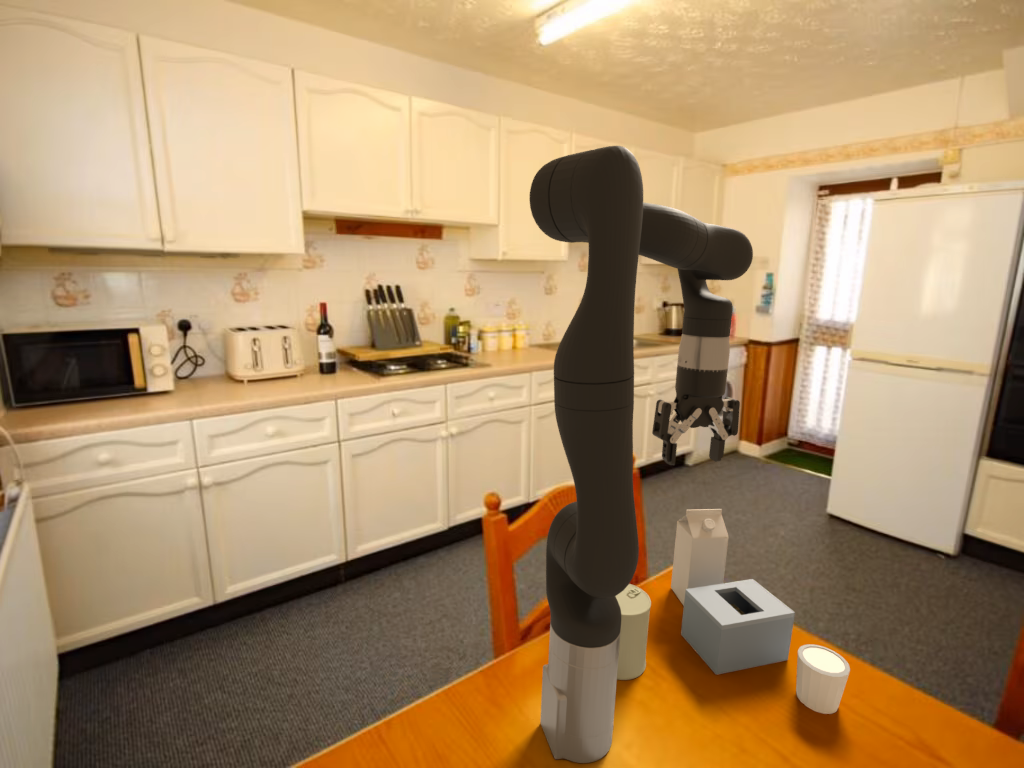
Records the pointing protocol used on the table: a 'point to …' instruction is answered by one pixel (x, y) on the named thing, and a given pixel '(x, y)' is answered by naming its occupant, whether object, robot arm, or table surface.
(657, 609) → the table surface
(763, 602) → the coin box
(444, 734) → the table surface
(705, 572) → the milk carton
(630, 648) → the can
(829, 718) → the table surface
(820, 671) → the white cup
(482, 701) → the table surface
